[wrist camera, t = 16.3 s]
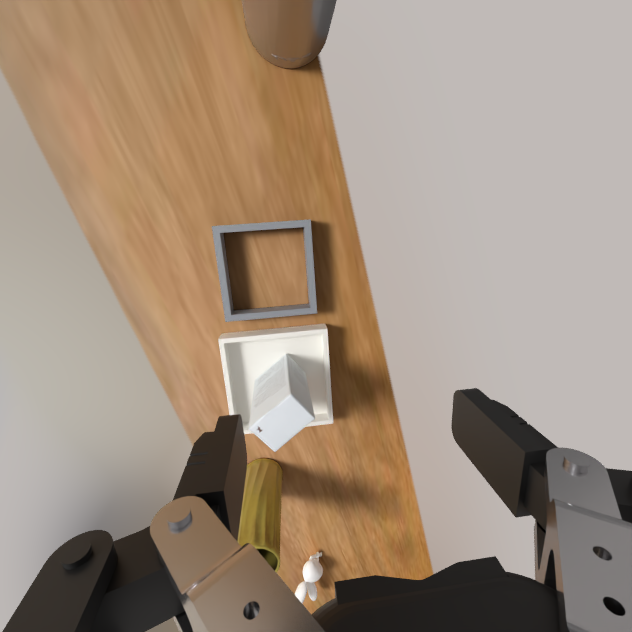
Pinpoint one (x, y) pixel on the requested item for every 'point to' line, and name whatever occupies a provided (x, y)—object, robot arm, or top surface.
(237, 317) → the frame
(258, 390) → the skincare box
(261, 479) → the vase
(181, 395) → the top surface
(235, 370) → the tray
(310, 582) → the rabbit figurine
